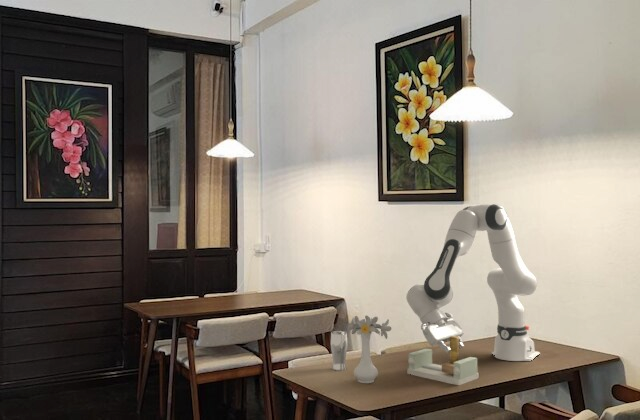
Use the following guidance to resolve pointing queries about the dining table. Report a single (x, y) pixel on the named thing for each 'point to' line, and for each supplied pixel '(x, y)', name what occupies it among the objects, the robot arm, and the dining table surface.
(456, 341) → the carriage
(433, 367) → the track
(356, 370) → the flower vase
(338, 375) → the dining table surface
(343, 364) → the beer glass
